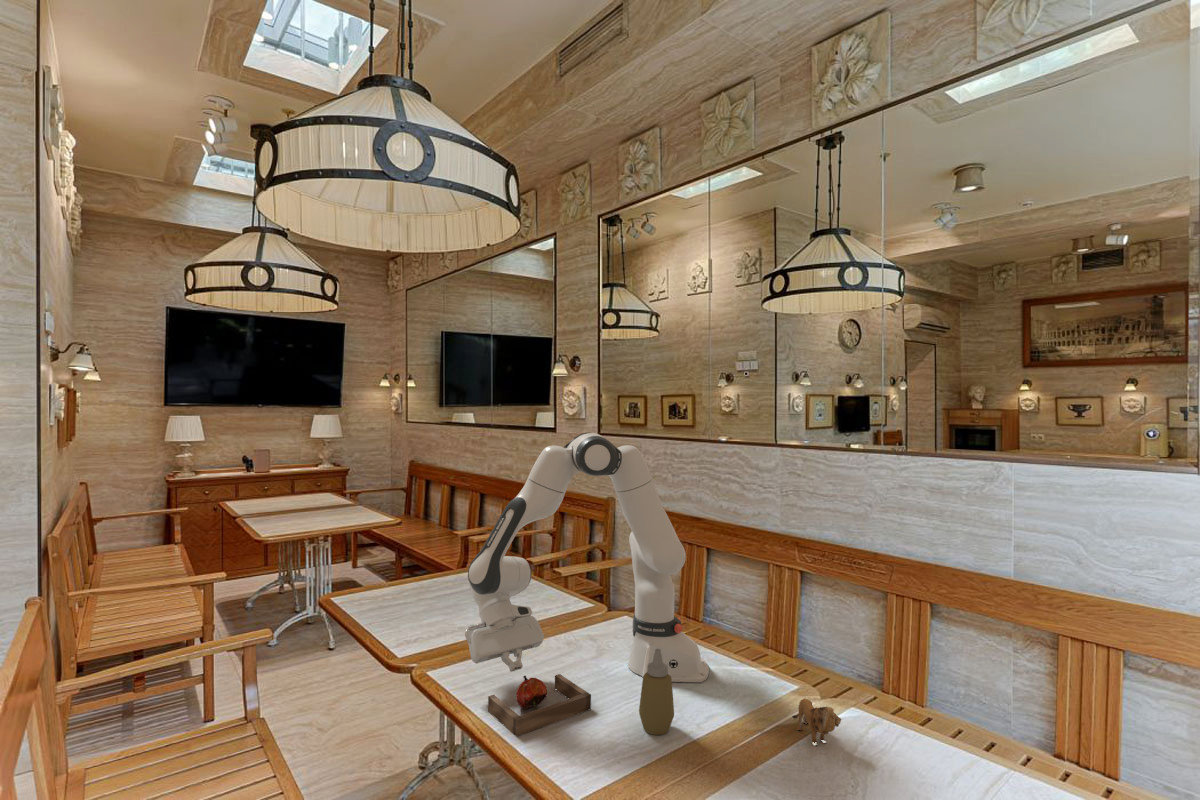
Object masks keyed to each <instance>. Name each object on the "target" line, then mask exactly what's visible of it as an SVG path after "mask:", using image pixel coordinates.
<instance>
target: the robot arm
mask: <svg viewBox="0 0 1200 800" xmlns="http://www.w3.org/2000/svg"><path fill="white" fill-rule="evenodd" d="M580 472H582V473H584V474H586V475H588V476H592V477H599V476H600V477H601V476H609V478H610V480H611V483H612V486H613V489H614V492H615V495H616V498H617V499H618V500H617V501H618V503H619V506H620V508H621V512H622V515H623V517H624V519H625V520H626V522H627V524H628V526H629V528H630V530H631V532H630V534H629V538H628V543H629V548H630V553H631V561H632V562H631V563H632V573H633V578H634V579H633V580H634V588H635V589H634V593H635V594H634V614H633V616H632V636H633V638H632V639H633V640H632V646H631V650H630V651H631V652H630V654H629V655H630V656H629V659H628V662H627V667H628V669H629V670H630V671H631V672H632V673H634V674H636V675H639V676H641V677H642V678H643V676H644V674H645V673H646V672H647V665H648V664H649V663H651V662H653V658H654V654H655V650H656V649H660V650H661V655H662V661H663V663H665V664H666V665H667V666H668V674H669V675H670V676H671V679H672V683H678V682H679V683H703V682H704V681H706V680H707V679H708V677H709V673H710V670H709V664H708V662H707V661H706V660H705V659H704V658H702V656H701V652H700V651H701V650H700V648H699V646H698V644H697V643H696V642H695V641H694V640H693V639H692V638H690V636H688V635H686V634H685V632H683V626H682V621H681V620H682V619H681V617H680V616H679V617H676V616H675V593H676V590H675V586H674V583H673V580H672V575H675V574H676V573H678V572H679V571H681V569H682V568H683V567H684V565H685V563H686V558H687V556H686V555H687V554H686V550H685V548H684V546H683V544H682V542H681V541H680V539H679V537H678V534H677V533H676V530H675V528H674V526H673V524H672V522H671V520H670V518H669V515H668V514H667V512H666V510H665V509H664V507H663V504H662V501H661V499H660V496H659V494H658V490H657V487H656V485H655V481H654V479H653V477H652V474H651V470H650V468H649V466H648V464H647V462H646V459H645V458H644V456H643V455H642V452H641V451H640V450H639V449H638V447H636V446H634V445H628V444H627V445H626V444H625V445H621V446H618V447H617V446H616V445H614V444H613V443H612V442H611V441H609V440H608V439H607V438H605V436H602V435H600V434H599V433H595V432H583V433H580V434H578V435H577V436H575V437H574V438H572V440H570V441H569V442H568V443H566V444H565V445H564V446H561V445H548V446H546V447H545V448H544V449H542V451H541V452H540V454H539V456H538V457H537V459H536V460H535V462H534V465H533V466H532V468H531V470H530V471H529V474H528V477H527V479H526V481H525V483H524V485H523V487H522V488H521V490H520V491H519V492H518V494H517V495H516V496H515V497H514V498H513V499H511V500H510V501H509V502H508V503H507V505H506V506H505V508H504V510H502V512H501V514H500V516H499V518H498V519H497V521H496V522H495V525H494V527H493V528H492V531H490V534H489V536H488V537H487V539H486V541H485V542H484V545H483V547H481V549H480V551H479V552H478V553H477V554H476V555H475V556H474V558H473V559H472V560H471V563H470V564H469V566H468V571H467V579H468V582H469V587H470V590H471V594H472V597H473V601H474V603H475V605H477V607H478V615H479V617H480V621H481V623H477V624H475V625H473V624H472V625H470V626H468V628H466V629H465V632H464V637H465V639H466V642H467V643H468V648H469V654H470V659H471V661H472V662H473V663H475V664H479V663H484V662H487V661H491V660H494V659H497V658H500V659H501V661H502V662H503V663H504V664H505V665H506V666H508V669H509V672H511V673H512V672H515V671H518V670H522V668H523V667H524V666H523V663H522V655H523V652H524V651H527V650H529V649H530V650H531V649H533V648H538V647H540V646H541V645H542V643H543V642H544V639H545V634H544V632H543V629H542V627H541V625H540V623H539V622H538V620H537V618H536V617H534V616H533V615H532V614H533V610H532V607H530V606H524V605H517V604H512V602H511V598H512V597H513V596H517V595H518V594H520V593H522V592H523V591H524V590H526V589H527V588H528V586H529V585H530V583H531V580H532V569H531V566H530V563H529V562H528V561H527V559H525V557H524V558H523V557H520V556H515V555H514V556H511V555H506V554H507V552H508V550H509V547H510V546H511V544H512V542H513V541H514V539H515V537H516V535H517V534H518V532H519V531H520V530H521V529H522V528H523V527H525V526H526V525H528V524H531V523H534V522H536V521H539V520H543V519H546V518H548V517H551V516H552V515H554V514H555V513H556V512H557V511H558V510H559V508H560V506H561V504H562V502H563V500H564V498H565V496H566V495H565V494H566V493H567V489H568V487H569V485H570V482H571V481H572V479H573V478H574V476H575V475H577V474H578V473H580ZM511 654H512V655H513V656H514V658H516V660H515V661H513V660H512V659H511V658H510V655H511Z"/></svg>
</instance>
